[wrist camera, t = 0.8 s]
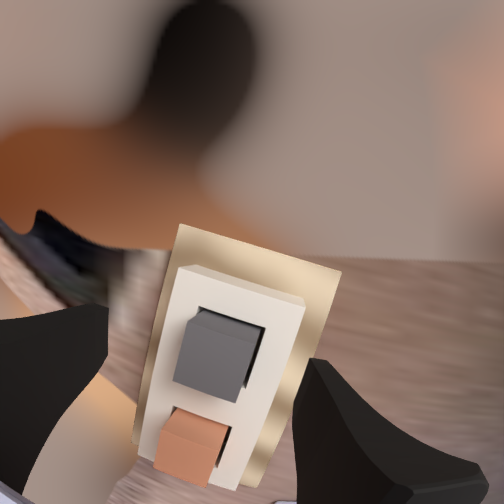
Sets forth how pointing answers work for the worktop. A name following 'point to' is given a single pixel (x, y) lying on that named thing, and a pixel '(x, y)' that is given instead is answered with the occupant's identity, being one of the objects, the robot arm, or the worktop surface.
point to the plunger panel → (257, 378)
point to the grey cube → (216, 354)
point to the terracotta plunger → (189, 447)
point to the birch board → (262, 273)
